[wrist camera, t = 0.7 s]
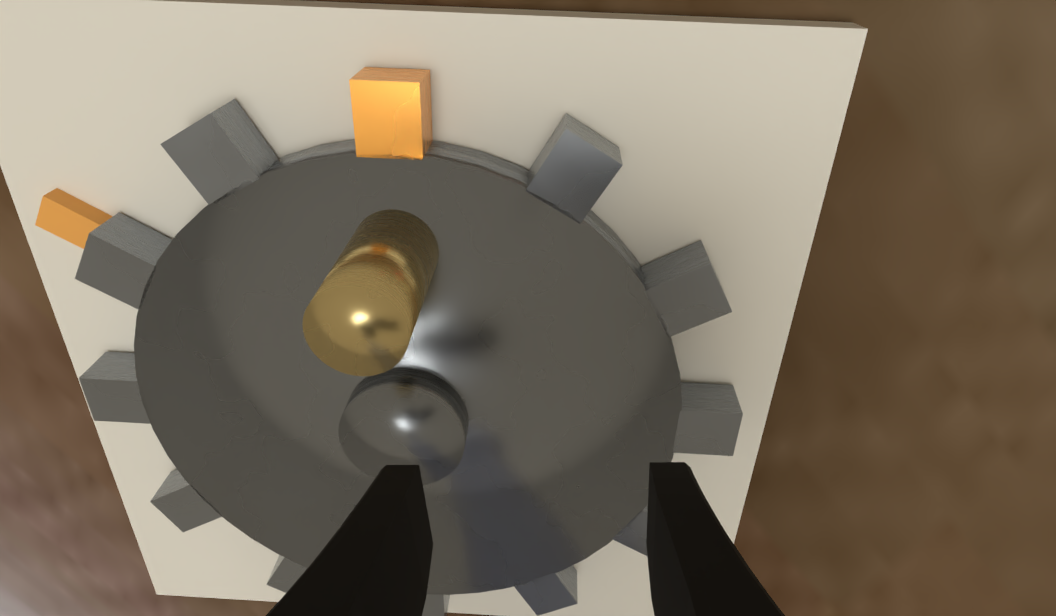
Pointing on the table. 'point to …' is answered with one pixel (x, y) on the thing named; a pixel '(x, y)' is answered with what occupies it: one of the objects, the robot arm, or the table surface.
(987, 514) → the table surface
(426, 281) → the sprocket
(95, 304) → the base board
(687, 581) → the robot arm
